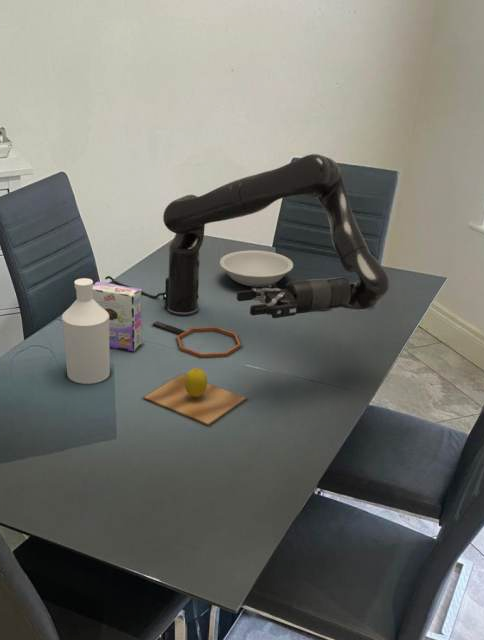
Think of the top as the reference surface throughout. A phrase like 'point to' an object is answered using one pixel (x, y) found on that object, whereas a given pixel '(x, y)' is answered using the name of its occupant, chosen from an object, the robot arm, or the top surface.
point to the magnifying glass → (183, 333)
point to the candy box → (121, 314)
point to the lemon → (196, 382)
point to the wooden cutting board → (195, 401)
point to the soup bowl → (256, 267)
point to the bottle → (86, 337)
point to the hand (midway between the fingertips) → (243, 303)
